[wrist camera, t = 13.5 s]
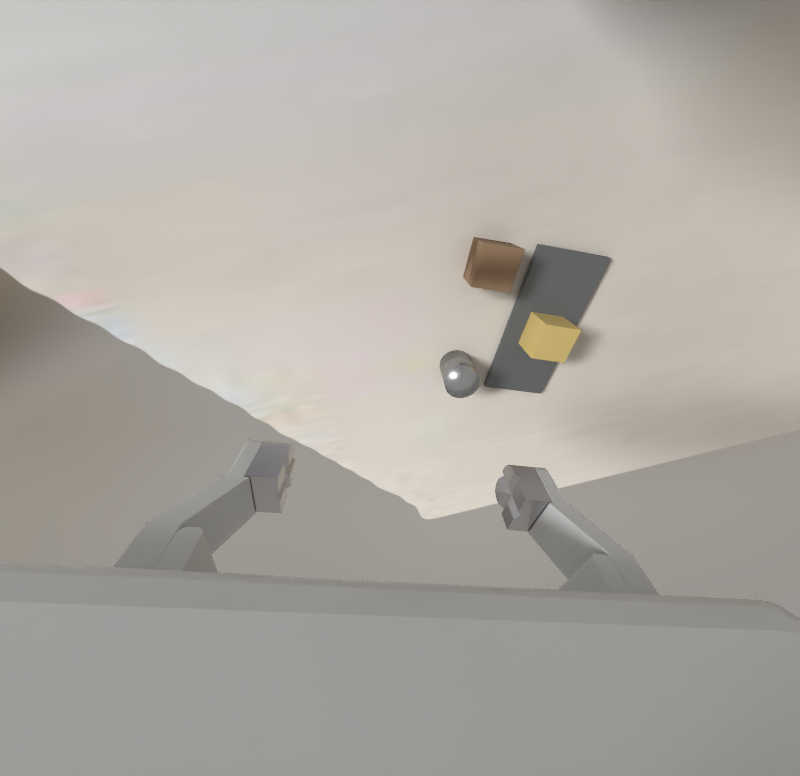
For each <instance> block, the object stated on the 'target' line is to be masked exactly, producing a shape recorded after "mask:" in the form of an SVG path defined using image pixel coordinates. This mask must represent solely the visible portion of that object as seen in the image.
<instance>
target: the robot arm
mask: <svg viewBox="0 0 800 776" xmlns="http://www.w3.org/2000/svg"><path fill="white" fill-rule="evenodd" d="M293 454H294V445H293V444H288V443H280V442H272V441H261V440H254V439H250V440H249V441H247V442H246V444H245V446H244V447H243V449H242V451H241V453H240V454H239V456H238V458H237V459H236V461H235V463H234V464H233V466H232V468H231V470H230V471H229V473H228V475H222V476H220V477H218V478H217V479H215V480H214V481H212V482H210V483H209V484H207V485H206V486H204V487H203V488H201V489H199V490H198V491H196V492H195V493H193V494H191V495H190V496H188V497H186V498H185V499H183V500H182V501H180V502H179V503H177V504H175V505H174V506H172V507H171V508H169V509H167V510H166V511H164V512H163V513H161V514H159V515H158V516H156V517H155V518H153V519H151V520H150V521H148V522H147V523H146V524H145V525H144V527H143V528H142V529H141V531H140V532H139V533H138V535H137V536H136V537H135V539H134V540H133V541H132V543H131V544H130V545H129V547H128V548H127V549H126V551H125V552H124V553H123V555H122V556H121V557H120V559H119V560H118V561H117V563H116V564H115V565H114V567H100V566H80V565H79V566H78V565H61V564H42V563H23V562H22V563H21V562H2V561H0V776H800V618H799V617H797V616H795V615H794V614H792V613H791V612H789V611H787V610H786V609H784V608H783V607H781V606H779V605H777V604H775V603H772V602H768V601H763V600H749V599H729V598H710V597H709V598H708V597H690V596H670V595H659V594H658V592H657V591H656V589H655V588H654V586H653V585H652V583H651V582H650V580H649V579H648V577H647V576H646V574H645V573H644V571H643V570H642V568H641V567H640V565H639V564H638V562H637V561H636V559H635V558H634V556H633V555H632V554H631V553H629V552H628V551H627V550H626V549H624V548H623V547H622V546H621V545H620V544H618V543H617V542H616V541H615V540H613V539H612V538H611V537H610V536H609V535H607V534H606V533H605V532H604V531H602V530H601V529H600V528H599V527H597V526H596V525H595V524H594V523H593V522H591V521H590V520H589V519H588V518H586V517H585V516H584V515H583V514H581V513H580V512H579V511H578V510H577V509H575V508H574V507H573V506H572V505H570V504H566V502H565V500H564V499H563V497H562V495H561V493H560V492H559V490H558V488H557V486H556V484H555V483H554V481H553V479H552V477H551V476H550V474H549V472H548V471H547V470H546V469H545V468H537V467H526V466H515V465H507V466H506V467H505V468H504V470H503V474H504V476H502V477H501V478H499V479H498V481H497V483H496V489H495V493H496V498H497V501H498V503H499V504H500V505H501V506H502V507H503V511H502V516H503V518H504V522H505V524H506V528H507V529H508V530H517V531H527V532H528V533H529V534H530V535H531V537H533V539H534V540H535V541H536V543H537V544H538V545H539V546H540V547H541V548H542V550H543V551H544V552H545V553H546V554H547V555H548V557H549V558H550V559H551V560H552V561H553V563H555V565H556V566H557V567H558V568H559V569H560V571H561V572H562V573H563V574H564V575H565V577H566V578H567V579H568V580H567V581H566V582H565V583H564V584H563V585H562V586H561V587H560V588H559V590H551V589H531V588H511V587H493V586H473V585H453V584H434V583H415V582H395V581H375V580H354V579H334V578H315V577H296V576H276V575H255V574H235V573H218V571H217V569H216V566H215V563H214V560H213V558H212V555H211V554H212V553H213V552H214V551H216V550H217V549H218V548H219V547H220V546H221V545H222V544H223V543H224V542H225V541H226V540H227V539H228V538H230V536H231V535H233V534H234V533H235V532H236V531H237V530H238V529H239V528H240V527H241V526H242V525H243V524H245V523H246V522H247V521H248V520H249V519H250V518H251V517H252V516H253V515H254V514H255V512H274V513H281V512H282V509H283V506H284V503H285V500H286V497H287V490H286V489H287V488H288V487H289V486H291V483H292V480H293V476H294V471H295V460H294V458H293Z"/></svg>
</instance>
